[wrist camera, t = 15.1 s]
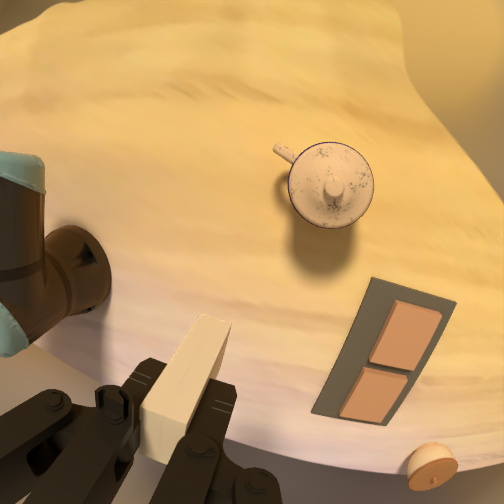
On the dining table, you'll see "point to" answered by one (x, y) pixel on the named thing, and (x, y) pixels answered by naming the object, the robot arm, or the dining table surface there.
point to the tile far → (372, 395)
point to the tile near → (405, 335)
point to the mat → (364, 340)
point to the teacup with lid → (328, 183)
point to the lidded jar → (430, 466)
